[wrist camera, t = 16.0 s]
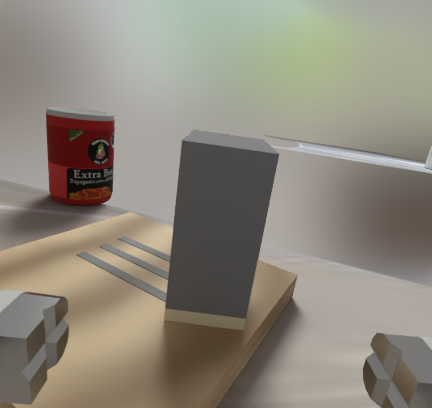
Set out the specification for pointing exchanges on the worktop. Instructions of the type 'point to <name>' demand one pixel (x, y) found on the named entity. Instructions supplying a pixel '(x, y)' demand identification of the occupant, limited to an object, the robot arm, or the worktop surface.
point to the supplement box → (429, 160)
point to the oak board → (134, 319)
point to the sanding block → (218, 227)
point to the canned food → (80, 155)
